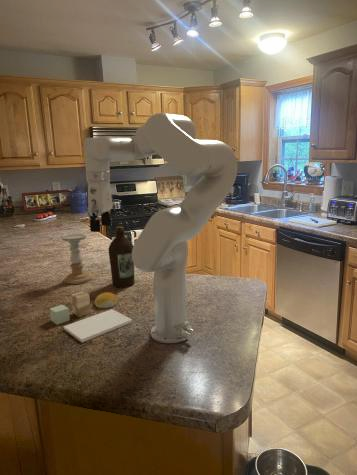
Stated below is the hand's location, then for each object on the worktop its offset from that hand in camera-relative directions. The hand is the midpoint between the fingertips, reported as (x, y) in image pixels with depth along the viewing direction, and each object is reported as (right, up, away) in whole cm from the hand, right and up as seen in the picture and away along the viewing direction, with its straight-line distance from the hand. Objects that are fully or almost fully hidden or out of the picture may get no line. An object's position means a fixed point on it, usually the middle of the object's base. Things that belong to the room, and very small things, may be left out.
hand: (101, 228), depth 118 cm
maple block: (-8, -30, +5) cm, 31 cm away
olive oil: (+2, -23, +33) cm, 41 cm away
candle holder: (-19, -22, +41) cm, 50 cm away
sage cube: (-14, -31, 0) cm, 34 cm away
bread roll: (-1, -28, +13) cm, 31 cm away
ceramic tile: (0, -32, -5) cm, 32 cm away
